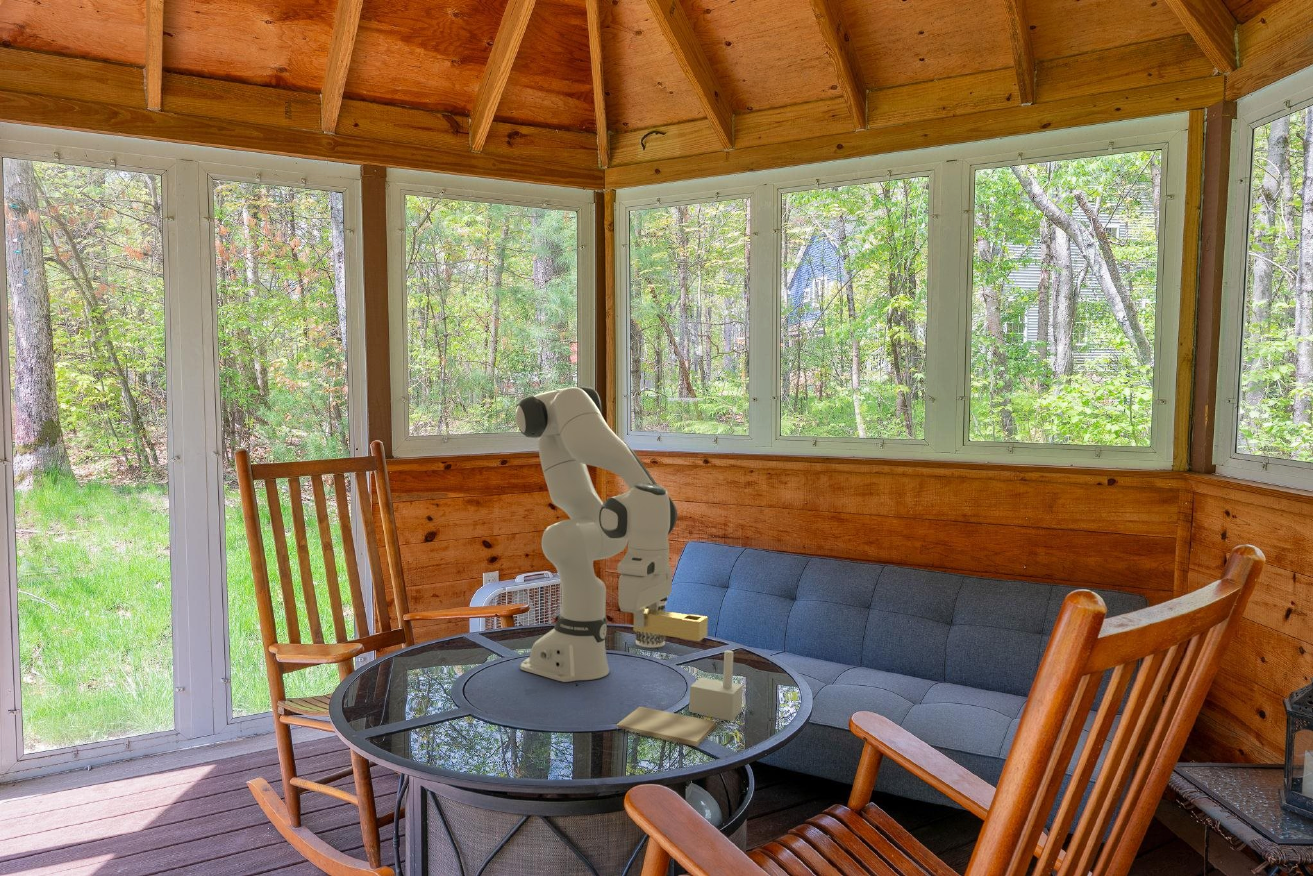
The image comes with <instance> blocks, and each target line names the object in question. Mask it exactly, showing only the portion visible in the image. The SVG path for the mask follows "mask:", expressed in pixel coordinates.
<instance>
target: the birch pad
mask: <svg viewBox="0 0 1313 876" xmlns="http://www.w3.org/2000/svg"><path fill="white" fill-rule="evenodd" d="M615 727H618V728H622V729H626V730H629V731H634V732H637V733H641V734H643V735H642V736H646V735H647V736H646V737H650V736H653V737H652V738H656V739H660V738H661V739H660V740H664V741H668V742H675V743H679V744H684V745H686V746H687V745H688V746H693V747H698V746H699V745H700V744H701V743H702V742H703V741H704V740H705V739H706V737H708V735H710V733H711V732H712V731H713V730H714V729H715V728H716V727H717V721H713V720H709V719H705V718H699V717H694V716H689V715H685V714H684V715H683V714H680V713H674V712H671V711H665V710H664V711H663V710H660V709H655V708H651V707H645V706H638V707H637V708H636V709H635V710H633V711H632V712H631V713H630V714H628V715H627V716H626V717H624V718H623V719H621V721H619V722H618V723H617V724H616V725H615ZM641 734H640V735H641ZM700 742H701V743H700ZM697 745H698V746H697Z"/></svg>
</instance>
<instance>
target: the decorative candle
mask: <svg viewBox="0 0 1313 876" xmlns="http://www.w3.org/2000/svg"><path fill="white" fill-rule="evenodd" d="M667 601H668V597H665V598H663V599H662V600H660V601H659V607H658V610H659V611H665V610H666V605H667ZM648 607H649V606H648ZM648 607H646V608H645V609H648ZM665 640H666V636H665V635H659V634H652V633H645V632H639V631H635V645H637V646H639V647H643V648H661V647H663V646H665V643H666V642H665Z"/></svg>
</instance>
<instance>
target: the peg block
mask: <svg viewBox="0 0 1313 876" xmlns="http://www.w3.org/2000/svg"><path fill="white" fill-rule="evenodd" d="M723 657H724V658H723V676H722V677H723V678H722V680H718V679H714V678H708V677H700V678H698V679H697V680H696V681H695V682H693V683H692V684H691V685H690V686H689V700H688V701H689V702H688V703H689V705H688V706H689V707H688V708H689V709H688V712H689V711H690V712H692V713H691V714H693V713H698V714H700V715H699V716H703V715H704V717H710V718H715V719H719V720H722V721H723V720H724V721H729V722H732V721H734V719H735V718H737V716H738V715H739V714H740V713H741V712H742V706H743V705H742V703H743V686H744V685H743V684H740V683H735V682H733V674H734V673H733V668H734V651H733V650H725V651H724V655H723ZM698 714H697V715H698Z"/></svg>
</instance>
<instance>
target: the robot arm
mask: <svg viewBox="0 0 1313 876" xmlns="http://www.w3.org/2000/svg"><path fill="white" fill-rule="evenodd" d="M602 406H603V405H602V401H601V398H600V396H599V392H597V391H596V390H595V389H594V388H593V387H591V386H582V385H581V386H578V387H566V388H559V389H554V390H550V391H546V392H541V393H539V394H534V395H528V396H525V397H523V398H521V399H520V400H518V402H517V403H516V406H515V423H516V425H517V426H518V429H519V431H520V433H521V434H522V435H524V436H525V437H526V438H532V439H533V438H535V439H536V438H538V440H537V441H538V443H537V446H538V454H539V461H540V465H541V469H542V473H543V477H544V479H545V483H546V485H547V490H548V493H549V496H550V500H551V502H552V503H553V504H554V505H555V506H556V507H557V508H560V510H562V511H564V512H565V514H566V515H567V516H568V517H569V518H570V519H563V520H561V521H558V522H556V523H553V524H551V525H549V526H547V527H546V528H545V529H544V531H543V533H542V536H541V549H542V553H543V555H544V557H545V558H546V559H547V561H549V562H550V563H551V564H552V565H553V566H554V567H555V569H556V571H557V573H558V578H559V579H560V581H559V582H560V586H561V609H560V610H561V611H560V614H558V615H556V616H555V617H554V618H551V622H550V623H551V624H554V628H553V629H551V630H549V631H548V632H546V633H545V634H544V635H542V636H541V637H540V638H538V639H537V640H536V641H535V642H534V643H533V644H532V646H531V651H530V654H529V655H530V656H529V657H528V658H526V659H524V660H523V661H522V662H521V663H520V667H519V668H520V670H521V671H524V672H528V673H532V674H535V675H539V676H542V677H545V678H549V679H552V680H555V681H559V682H562V683H568V682H569V683H570V682H575V681H589V680H596V679H600V678H604V677H606V676H607V675H608V674H609V673H610V667H609V665H608V658H607V653H606V652H607V651H606V650H607V649H606V638H607V630H608V628H607V626H608V625H607V623H608V621H607V615H606V602H607V601H606V600H607V588H606V584H605V582H604V581H603V580H601V578H599V577H597V576H596V573H595V568H594V561H598V560H605V559H609V558H612V557H613V556H616V555H618V554H620V553H621V552H624V550H625V549H626V548H627V552H626V553H625V554H624V557H623V558H622V559H621V560H620V561H619V562H618V564H617V573H618V574H620V576H619V579H618V594H617V595H618V607H619V609H620V611H621V612H624V613H630V614H633V618H634V617H635V626H636V628H640V629H642V628H644V627H645V626H646V619H644V612H645V608H646V607H648V606H649V607H648V609H652V610H658V607H659V601H660V600H662V599H663V598H665V597H666V598H668V597H669V596H671V593H672V589H673V588H672V586H673V585H672V583H673V582H672V581H673V580H672V566H671V564H669V561H670V543H669V539H668V537H669V535H670V534H671V532H672V531H673V530H674V528H675V526H676V524H677V520H678V510H677V507H676V505H675V504H676V503H674V501H673V500H672V498H671V497H670V496H669V493H668V490H667V489H666V488H665V487H664V486H661V485H659V484H658V483H657V482H656V481H655V479H654V478H653V476H652V475H651V474H650V472H649V471H648V469H647V468H646V466H645V465H644V463H643V462H642V461H641V459H640V458H639V456H638V455H637V454H636V452H635V451H634V450H633V448H632V447H630V445H628V444H627V443H626V442H625V441H623V440H622V439H621V438H620V437H619V436H618V435H616V433H615V431H613V430H612V429H611V428H610V426H609V425H608V424H607V422H606V420H605V419H604V416H603V415H602V413H603V407H602ZM588 466H592V467H596V468H600V469H603V470H607V471H609V472H612V473H613V474H615V475H617V476H618V477H620V478H621V480H623V482H624V483H625V485H626V486H627V487H628V489H629V490H628V491H626V492H624V493H621V494H618V495H615V496H611V497H608V498H607V499H605V501H604V502H603V501H602V499H601V497H600V496H599V494H598V492H597V491H596V489H595V486H594V484H593V482H592V478H591V476H590V472H589V469H588Z"/></svg>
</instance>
